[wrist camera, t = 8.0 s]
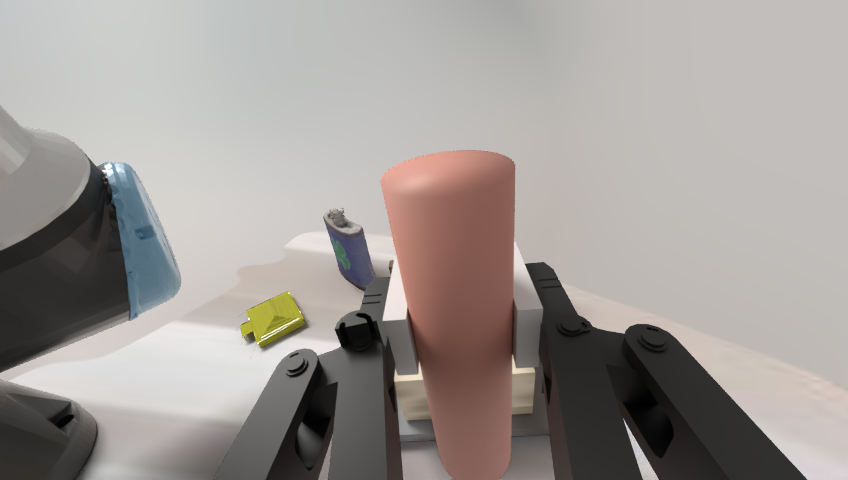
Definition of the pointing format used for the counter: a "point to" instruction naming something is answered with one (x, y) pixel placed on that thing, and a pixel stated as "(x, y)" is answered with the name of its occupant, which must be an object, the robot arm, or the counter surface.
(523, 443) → the counter surface
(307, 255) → the counter surface
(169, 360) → the counter surface
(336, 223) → the flask
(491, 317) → the dowel
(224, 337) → the counter surface
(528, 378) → the socket block
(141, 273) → the robot arm
